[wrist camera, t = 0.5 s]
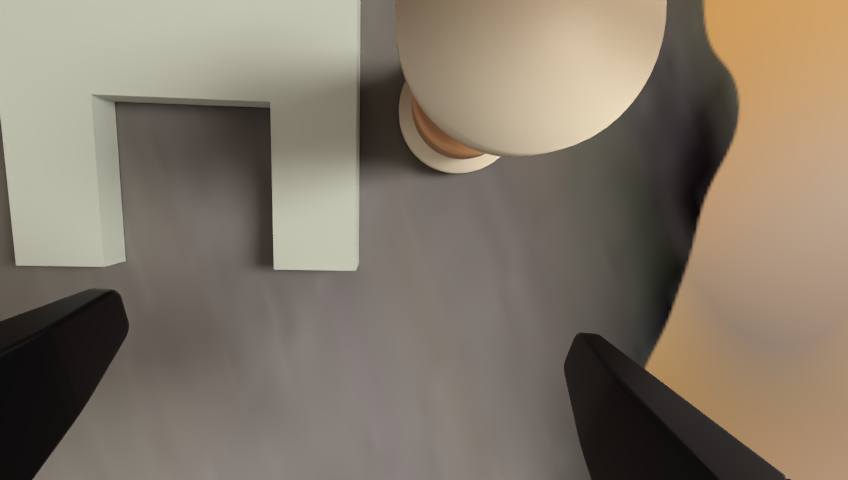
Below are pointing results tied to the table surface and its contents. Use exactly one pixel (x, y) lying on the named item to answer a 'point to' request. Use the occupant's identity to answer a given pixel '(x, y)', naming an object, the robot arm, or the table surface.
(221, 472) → the table surface
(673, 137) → the table surface
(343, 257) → the notch board
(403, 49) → the orange-banded mushroom peg
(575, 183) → the table surface
